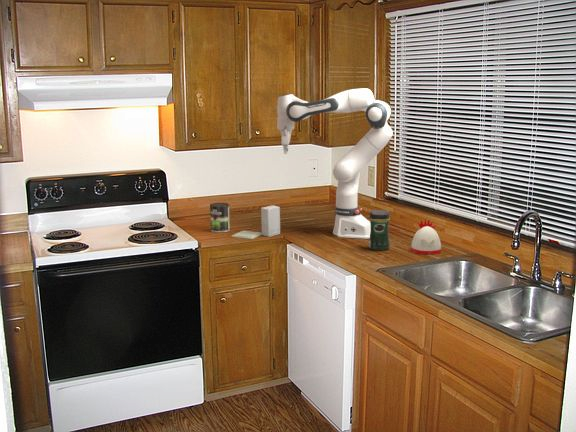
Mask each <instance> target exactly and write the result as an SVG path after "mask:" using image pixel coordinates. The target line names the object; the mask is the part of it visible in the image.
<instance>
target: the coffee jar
mask: <svg viewBox="0 0 576 432" xmlns="http://www.w3.org/2000/svg"><path fill="white" fill-rule="evenodd" d="M390 217H391V216H390V212H389V210H387V209H384V210H383V209H371V210H370V212H369V218H368V221H370V223H371V230H370V238H369V241H368V242H369V243H368V247H369V248H368V249H371V250H372V251H373V250H375V251H385V250H388V249H390V236H389V235H390V234H389V223H390V221H391V219H390Z"/></svg>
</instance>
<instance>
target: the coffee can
mask: <svg viewBox="0 0 576 432" xmlns="http://www.w3.org/2000/svg"><path fill="white" fill-rule="evenodd" d="M209 209H210V231H211V232H212V233H226V232H230V230H231V229H230V225H231V224H230V203H228V202H214V203H210V204H209Z"/></svg>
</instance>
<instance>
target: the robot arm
mask: <svg viewBox="0 0 576 432" xmlns="http://www.w3.org/2000/svg"><path fill="white" fill-rule="evenodd" d="M360 111H362V112H365V118H366V121H367V122H368V124H369V126H370V127H371V128H370V129H369V131H368V132H366V133H365V135H364V136H363V137H362V138H361V139H360V140H359V141H358V142H357V143H356V144H355V145H354V146H353V147H352V148H351V149H350V150H349V151H348V152H347V153H345V154H344V156H342V157H341V159H339V160H338V161H337V162H336V164H335V165H334V166H333V169H332V175H333V177H334V179H335V180H336V181H338V182H337V187H336V190H335V191H336V192H335V206H334V208H335V209H334V216H335V220H334V221H335V222H334V226H333V231H332V234H333V235H334V236H337V237H338V238H347V239H348V238H350V239H362V240H364V239H366V240H367V239H370V230H371V223H370V220H369V219H367V217H364V216H363V215H362V210H363V208H362V207H361V208H360V207H359V205H358V201H359V200H358V199H359V198H358V197H359V196H358V194H359V193H358V192H359V185H360V177H361V171H362V170H363V169H364V168H365V167H366V166H367V165H369V163H370V162H371V161H372V160H373V159H374V158H375V157H376V156H378V154H379V153H380V152H381V151H382V150H383V149H384V148H386V146H387V144H388V143H389V142H390V140H391V139H392V138H393V134H394V133H393V129H392V128H391V127H390V126H389V124H388V121H389V120H390V118H391V116H392V107H391V106H390V104H389V103H388V102H386V101H384V100H381V99H377V98H375V97H374V93H373V92H372V90H371V89H369V88H365V87H364V88H352V89H346V90H344V91H343V90H342V91H340V92H338V93H335V94H333V95H330V96H329V97H326V98H325V99H321V100H314V101H310V102H309V101H307V100H303V99H300V98H299V97H297V96H295V95H294V94H293V93H287V94H281V95H279V97H278V98H277V108H276V112H277V120H276V121H277V122H276V123H277V126H276V127H277V130H279V133H280V134H281V136H280V137H281V146H282V147H283V149H282V150H283V154H284V155H287V154H288V151H289V145H290V143H291V137H292V132H293V130H295V122H296V123H298V122H300V121H303V120H307V119H309V118H310V117H311V116H313V115H318V114H323V113H324V114H325V113H335V114H346V113H347V114H348V113H354V112H355V113H356V112H360Z"/></svg>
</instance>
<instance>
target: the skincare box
mask: <svg viewBox="0 0 576 432" xmlns="http://www.w3.org/2000/svg"><path fill="white" fill-rule="evenodd" d="M260 212H261V213H260V215H261V218H260V219H261V233H262V235H261V236H265V237H268V238H270V237H275V236H278V235H280V234H281V214H280V213H281V207H280V206H277V205H274V204H273V205H268V206H264V207H260Z"/></svg>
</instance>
